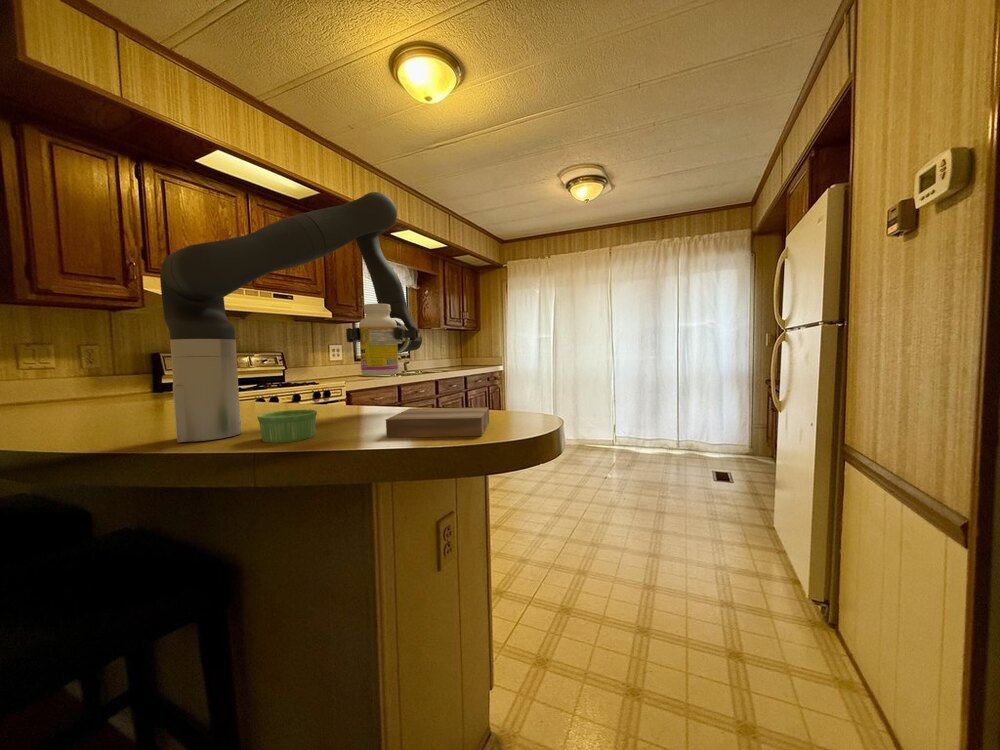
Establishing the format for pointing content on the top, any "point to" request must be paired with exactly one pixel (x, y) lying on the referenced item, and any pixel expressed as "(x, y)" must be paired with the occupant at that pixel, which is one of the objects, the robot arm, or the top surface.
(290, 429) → the ramekin
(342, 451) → the top surface
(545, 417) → the top surface
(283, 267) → the robot arm
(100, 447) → the top surface
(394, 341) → the supplement bottle
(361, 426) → the top surface
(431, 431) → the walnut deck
